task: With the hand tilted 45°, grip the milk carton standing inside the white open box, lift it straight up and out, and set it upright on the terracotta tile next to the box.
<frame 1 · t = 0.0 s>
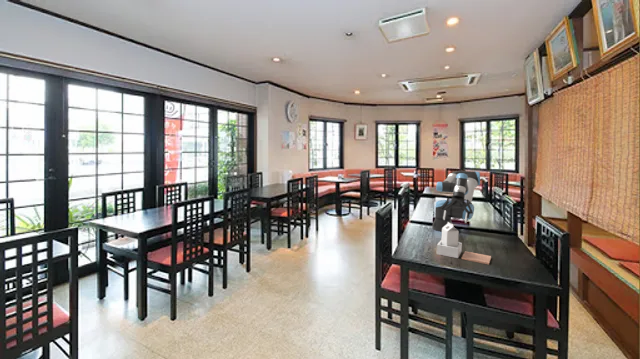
hand: (454, 220, 194), 15 cm above the table, tool tilted 35°, fingers open, 13 cm apart
milk carton: (449, 253, 177), resting in white open box
white open box: (449, 252, 177), on the table
terracotta tile: (476, 258, 168), on the table
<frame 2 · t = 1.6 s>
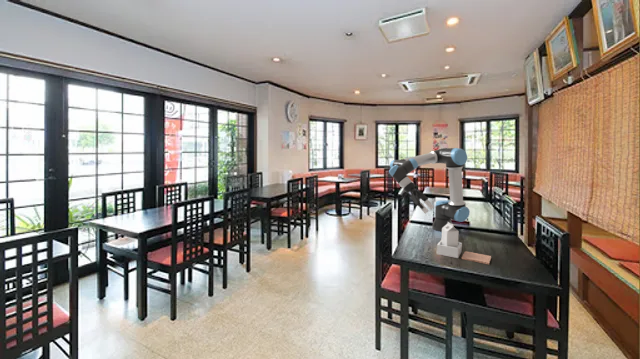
hand: (430, 210, 181), 25 cm above the table, tool tilted 45°, fingers open, 13 cm apart
nothing on the table moved.
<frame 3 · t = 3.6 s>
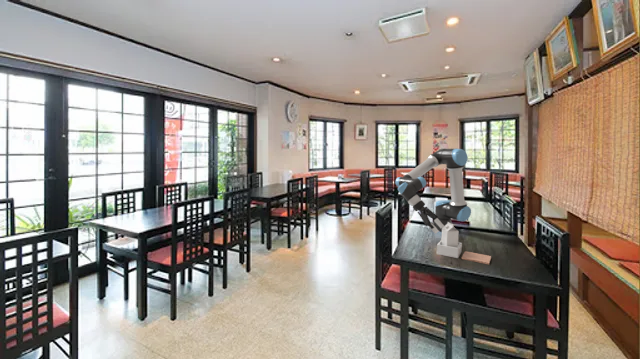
hand: (440, 229, 177), 14 cm above the table, tool tilted 45°, fingers open, 13 cm apart
nothing on the table moved.
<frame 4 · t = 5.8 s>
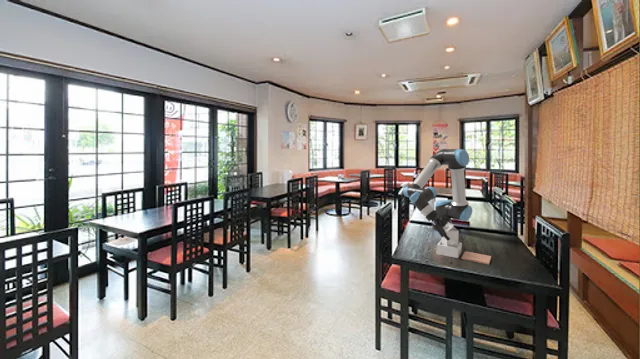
hand: (455, 241, 174), 8 cm above the table, tool tilted 45°, fingers closed on milk carton, 10 cm apart
milk carton: (449, 253, 177), resting in white open box, touching gripper
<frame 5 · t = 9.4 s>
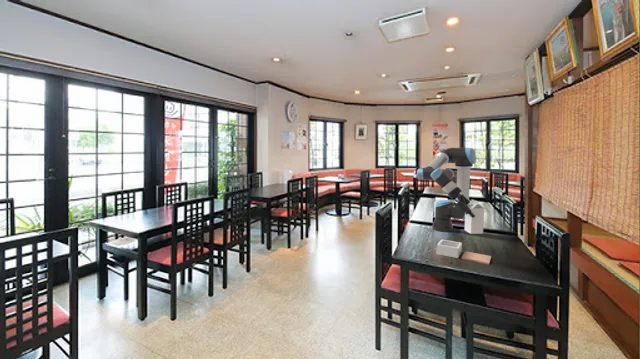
hand: (480, 219, 164), 24 cm above the table, tool tilted 45°, fingers closed on milk carton, 10 cm apart
milk carton: (473, 232, 167), point 16 cm above the table, touching gripper
when the fingers open (10 cm above the table, at t = 12.8 s): milk carton drops 1 cm, resting on terracotta tile.
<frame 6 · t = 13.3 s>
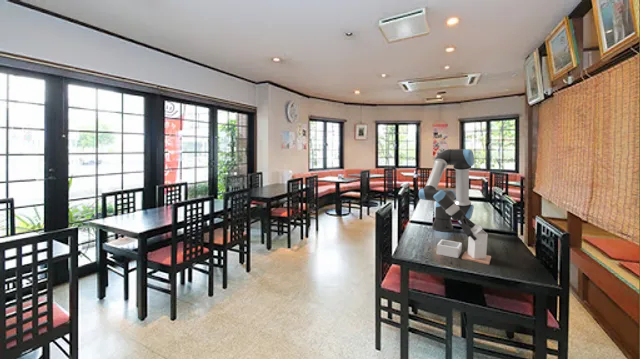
hand: (481, 240, 165), 11 cm above the table, tool tilted 45°, fingers open, 13 cm apart
milk carton: (476, 257, 168), point 1 cm above the table, touching terracotta tile
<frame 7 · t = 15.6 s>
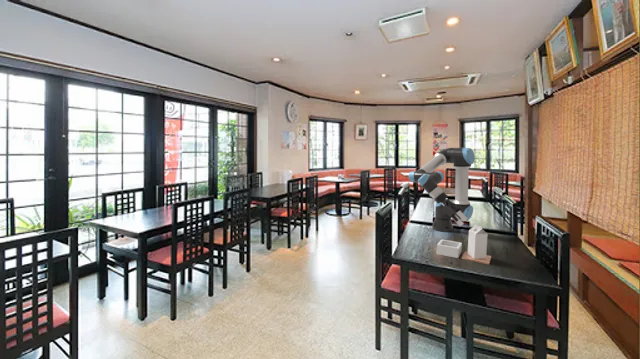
hand: (464, 222, 170), 21 cm above the table, tool tilted 45°, fingers open, 13 cm apart
nothing on the table moved.
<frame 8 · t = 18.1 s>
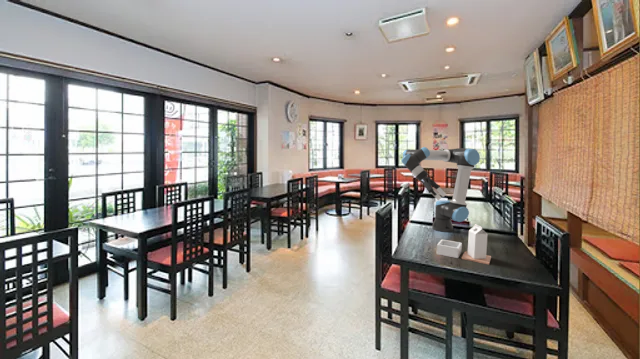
hand: (442, 197, 186), 33 cm above the table, tool tilted 45°, fingers open, 13 cm apart
nothing on the table moved.
at the end: milk carton inside the target area on the terracotta tile (0.1 cm from its centre), point 0.8 cm above the terracotta tile's base; milk carton tilted 0°; milk carton touching terracotta tile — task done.
